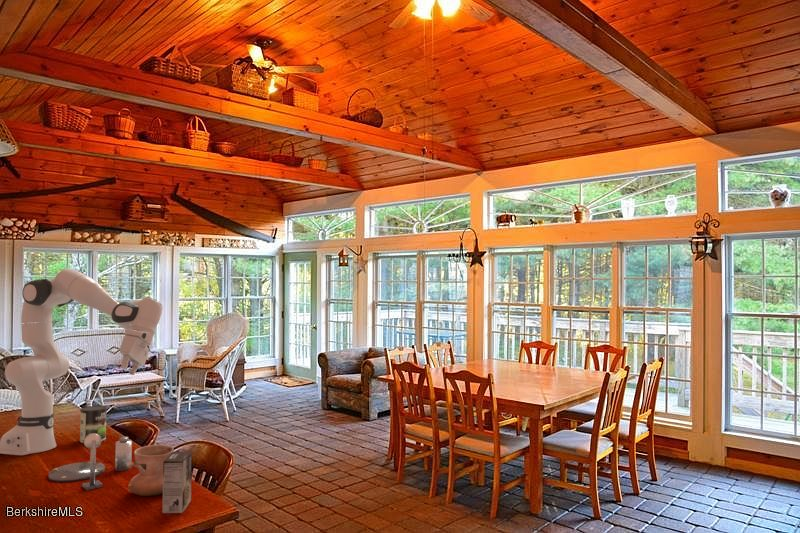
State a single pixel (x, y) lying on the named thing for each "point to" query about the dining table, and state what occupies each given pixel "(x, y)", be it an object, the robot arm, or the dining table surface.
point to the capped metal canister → (123, 454)
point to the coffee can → (93, 422)
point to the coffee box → (176, 482)
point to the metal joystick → (92, 460)
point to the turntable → (75, 472)
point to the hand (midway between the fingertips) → (127, 371)
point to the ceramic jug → (149, 469)
